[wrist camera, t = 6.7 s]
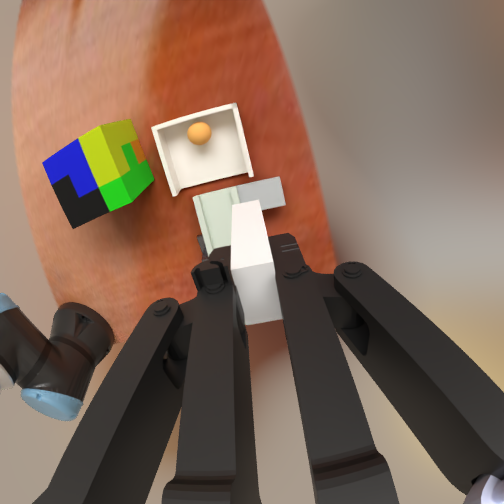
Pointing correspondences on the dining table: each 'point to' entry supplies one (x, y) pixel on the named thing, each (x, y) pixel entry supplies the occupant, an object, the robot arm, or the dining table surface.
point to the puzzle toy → (99, 172)
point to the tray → (203, 148)
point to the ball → (199, 133)
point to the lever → (220, 208)
